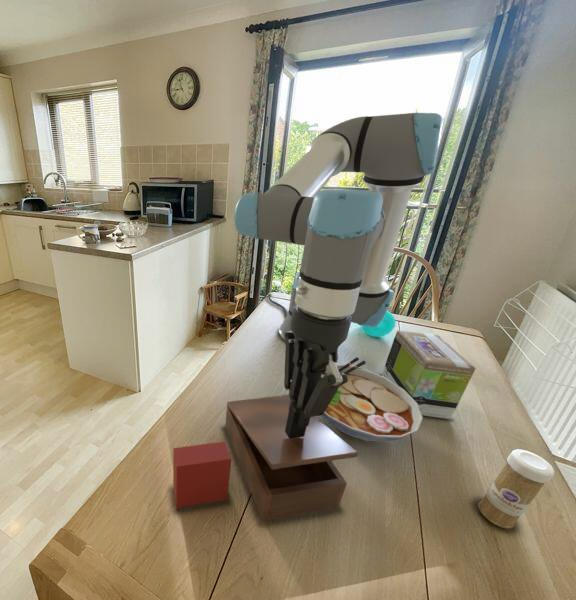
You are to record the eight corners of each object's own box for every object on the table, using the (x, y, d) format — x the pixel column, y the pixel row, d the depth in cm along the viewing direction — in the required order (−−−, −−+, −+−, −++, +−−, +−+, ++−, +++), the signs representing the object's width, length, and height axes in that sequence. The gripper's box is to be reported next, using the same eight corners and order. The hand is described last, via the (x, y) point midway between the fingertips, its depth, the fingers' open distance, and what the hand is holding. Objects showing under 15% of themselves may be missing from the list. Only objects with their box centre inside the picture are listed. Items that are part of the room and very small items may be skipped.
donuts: (381, 326, 112) (389, 301, 108) (392, 340, 104) (401, 313, 99) (351, 322, 115) (358, 298, 110) (359, 336, 106) (367, 310, 102)
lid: (357, 456, 48) (357, 451, 48) (271, 469, 46) (271, 464, 46) (288, 398, 68) (288, 394, 68) (227, 405, 66) (227, 401, 66)
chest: (337, 510, 53) (347, 483, 50) (260, 523, 51) (266, 496, 48) (283, 421, 71) (287, 398, 68) (224, 429, 69) (227, 405, 66)
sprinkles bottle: (477, 517, 52) (514, 462, 47) (476, 496, 56) (510, 443, 50) (515, 536, 50) (559, 480, 44) (512, 513, 53) (552, 459, 47)
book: (173, 491, 56) (173, 448, 52) (221, 483, 58) (225, 441, 53) (176, 510, 53) (176, 466, 49) (227, 502, 54) (231, 458, 50)
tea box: (452, 420, 72) (478, 368, 66) (404, 414, 74) (425, 362, 67) (419, 379, 85) (439, 333, 79) (379, 374, 87) (395, 328, 81)
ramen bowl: (373, 487, 57) (385, 456, 54) (276, 410, 75) (281, 382, 71) (433, 430, 69) (446, 402, 66) (337, 375, 87) (344, 350, 83)
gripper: (275, 291, 48) (258, 408, 58) (325, 334, 36) (292, 472, 46) (320, 289, 49) (295, 404, 59) (382, 330, 37) (338, 465, 47)
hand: (294, 433), depth 52 cm, fingers closed
